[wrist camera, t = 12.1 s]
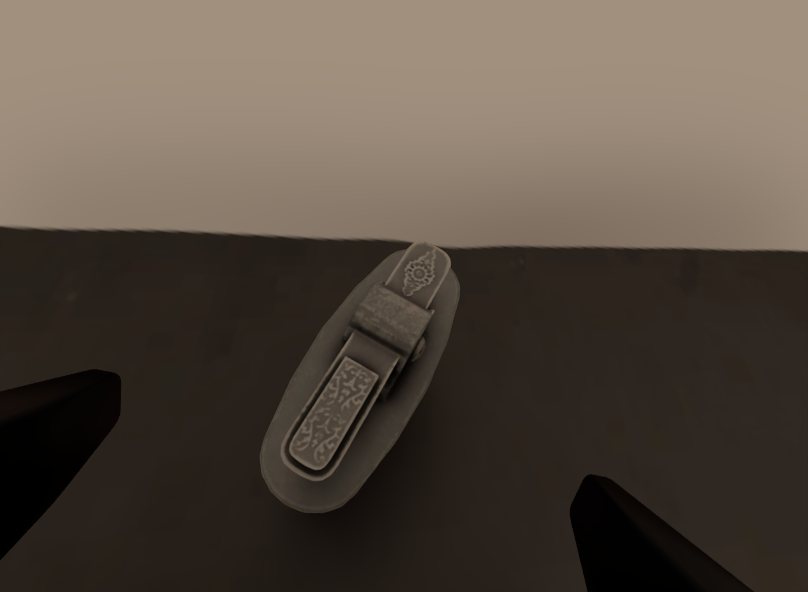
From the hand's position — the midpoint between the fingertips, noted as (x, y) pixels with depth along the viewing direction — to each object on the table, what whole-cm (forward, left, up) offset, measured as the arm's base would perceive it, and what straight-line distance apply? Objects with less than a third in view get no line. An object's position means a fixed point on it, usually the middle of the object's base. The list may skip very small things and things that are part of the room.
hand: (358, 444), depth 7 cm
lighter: (+1, -2, -10) cm, 10 cm away
